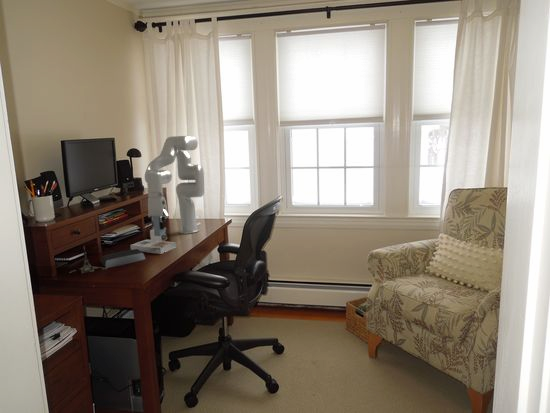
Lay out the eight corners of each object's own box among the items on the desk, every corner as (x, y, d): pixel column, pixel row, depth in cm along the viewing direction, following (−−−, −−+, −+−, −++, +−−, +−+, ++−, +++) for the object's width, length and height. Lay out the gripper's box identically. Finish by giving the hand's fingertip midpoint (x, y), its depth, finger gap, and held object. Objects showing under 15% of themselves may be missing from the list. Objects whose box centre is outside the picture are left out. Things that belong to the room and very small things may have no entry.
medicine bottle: (162, 242, 235) (159, 222, 233) (150, 242, 236) (148, 222, 234) (167, 238, 242) (165, 219, 239) (156, 238, 243) (154, 219, 241)
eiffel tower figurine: (109, 269, 193) (105, 242, 190) (92, 276, 183) (88, 248, 181) (85, 266, 198) (81, 240, 196) (68, 274, 189) (64, 246, 186)
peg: (159, 234, 219) (157, 214, 217) (165, 234, 218) (163, 214, 216) (154, 235, 216) (152, 215, 214) (160, 236, 214) (158, 216, 212)
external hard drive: (146, 260, 203) (145, 252, 202) (105, 269, 192) (104, 261, 192) (139, 254, 213) (138, 247, 213) (100, 262, 203) (99, 255, 202)
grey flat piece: (147, 244, 232) (146, 239, 231) (176, 247, 221) (175, 242, 221) (131, 250, 221) (130, 244, 221) (161, 253, 211) (160, 248, 210)
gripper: (172, 194, 212) (176, 228, 216) (149, 193, 220) (152, 226, 223) (162, 196, 206) (166, 231, 209) (139, 195, 213) (142, 229, 217)
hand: (159, 228), depth 216 cm, fingers closed on peg, 4 cm apart
